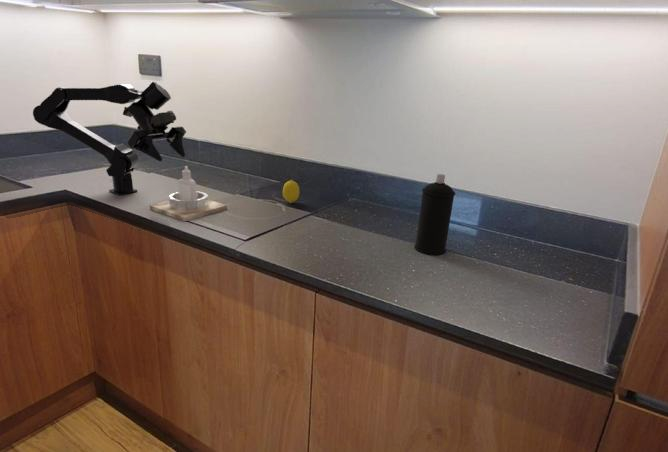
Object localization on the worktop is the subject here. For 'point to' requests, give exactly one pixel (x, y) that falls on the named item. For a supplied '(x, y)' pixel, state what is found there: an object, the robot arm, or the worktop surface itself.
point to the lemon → (291, 191)
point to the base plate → (188, 215)
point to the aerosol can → (434, 217)
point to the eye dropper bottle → (187, 186)
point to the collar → (188, 202)
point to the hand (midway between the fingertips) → (173, 158)
